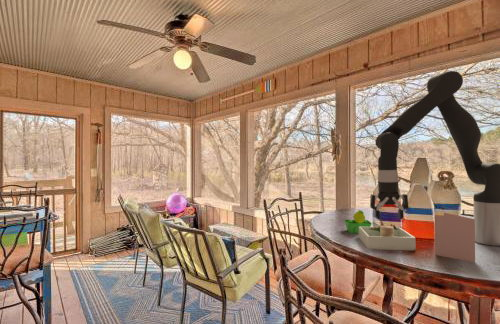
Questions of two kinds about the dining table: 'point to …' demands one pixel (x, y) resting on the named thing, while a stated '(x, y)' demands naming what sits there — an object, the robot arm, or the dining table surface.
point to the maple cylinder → (387, 231)
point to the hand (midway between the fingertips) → (389, 218)
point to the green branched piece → (382, 225)
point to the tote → (387, 239)
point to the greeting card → (455, 237)
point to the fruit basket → (357, 222)
